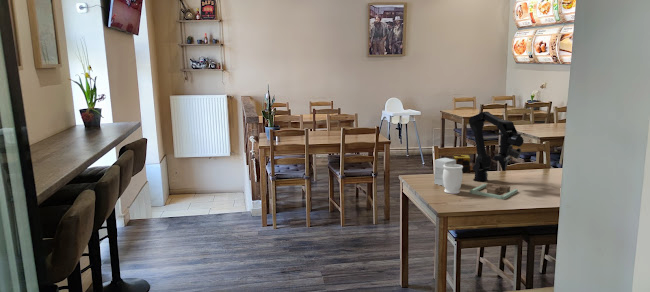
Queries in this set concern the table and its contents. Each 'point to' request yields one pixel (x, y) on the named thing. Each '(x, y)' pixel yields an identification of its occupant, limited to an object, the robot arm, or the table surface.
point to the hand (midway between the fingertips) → (504, 170)
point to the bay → (476, 191)
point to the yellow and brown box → (463, 162)
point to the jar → (452, 178)
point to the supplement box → (441, 169)
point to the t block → (497, 188)
